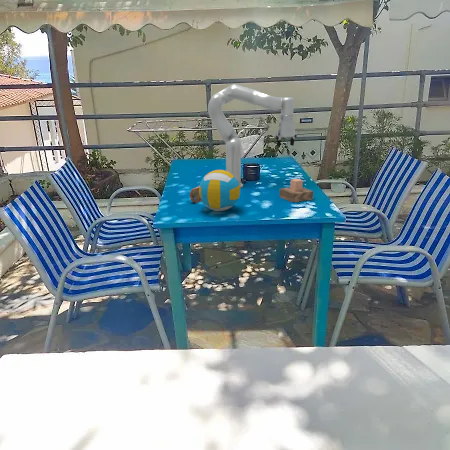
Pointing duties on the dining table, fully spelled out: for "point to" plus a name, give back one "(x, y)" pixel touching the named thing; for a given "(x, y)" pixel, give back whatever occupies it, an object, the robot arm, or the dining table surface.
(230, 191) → the volleyball
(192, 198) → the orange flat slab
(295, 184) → the terracotta block
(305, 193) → the walnut block
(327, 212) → the dining table surface
